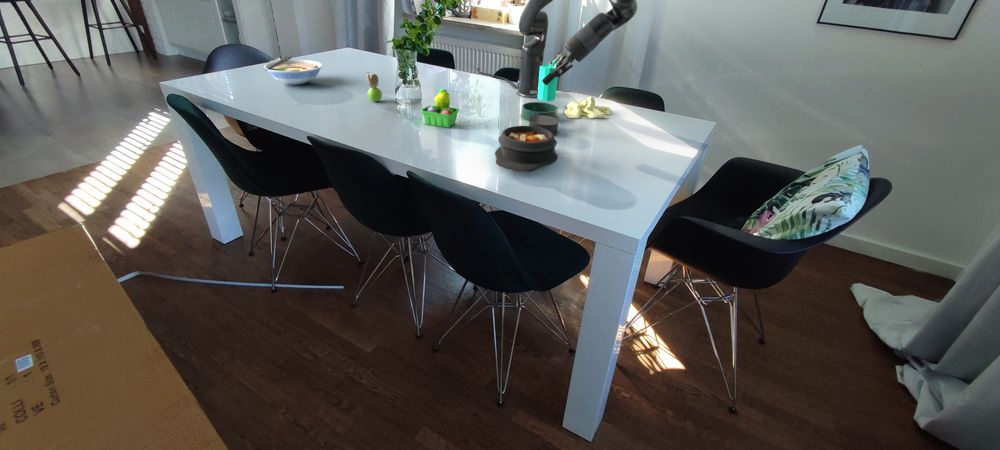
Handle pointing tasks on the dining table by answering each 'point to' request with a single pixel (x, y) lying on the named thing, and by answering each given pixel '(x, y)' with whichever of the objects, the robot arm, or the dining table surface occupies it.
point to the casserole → (526, 148)
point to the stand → (545, 123)
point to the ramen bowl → (293, 70)
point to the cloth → (586, 109)
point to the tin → (538, 110)
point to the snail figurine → (373, 88)
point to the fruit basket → (440, 111)
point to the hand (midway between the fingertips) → (542, 80)
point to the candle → (547, 90)
